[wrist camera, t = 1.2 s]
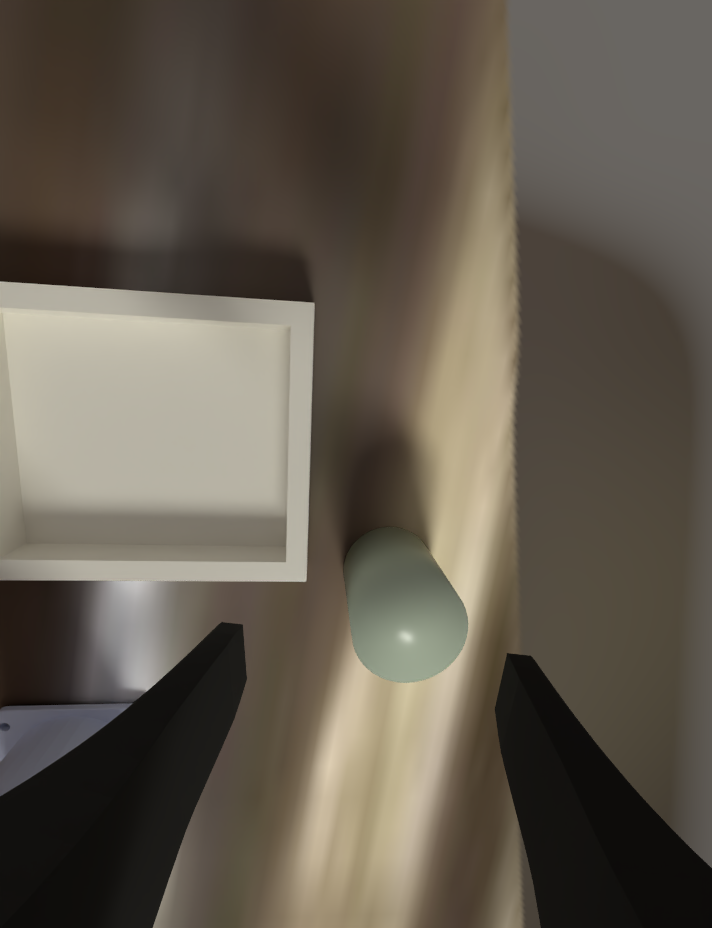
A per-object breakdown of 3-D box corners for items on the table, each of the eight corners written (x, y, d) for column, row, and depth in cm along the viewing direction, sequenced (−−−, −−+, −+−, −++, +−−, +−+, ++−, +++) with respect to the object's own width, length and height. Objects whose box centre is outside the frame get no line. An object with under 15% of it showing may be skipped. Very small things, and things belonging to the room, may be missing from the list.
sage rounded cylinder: (427, 609, 25) (462, 681, 19) (341, 610, 24) (349, 683, 18) (434, 527, 24) (473, 575, 18) (345, 525, 23) (354, 575, 17)
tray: (307, 560, 23) (306, 581, 21) (14, 557, 22) (-25, 580, 19) (314, 311, 21) (314, 302, 18) (-16, 290, 19) (-64, 277, 17)
